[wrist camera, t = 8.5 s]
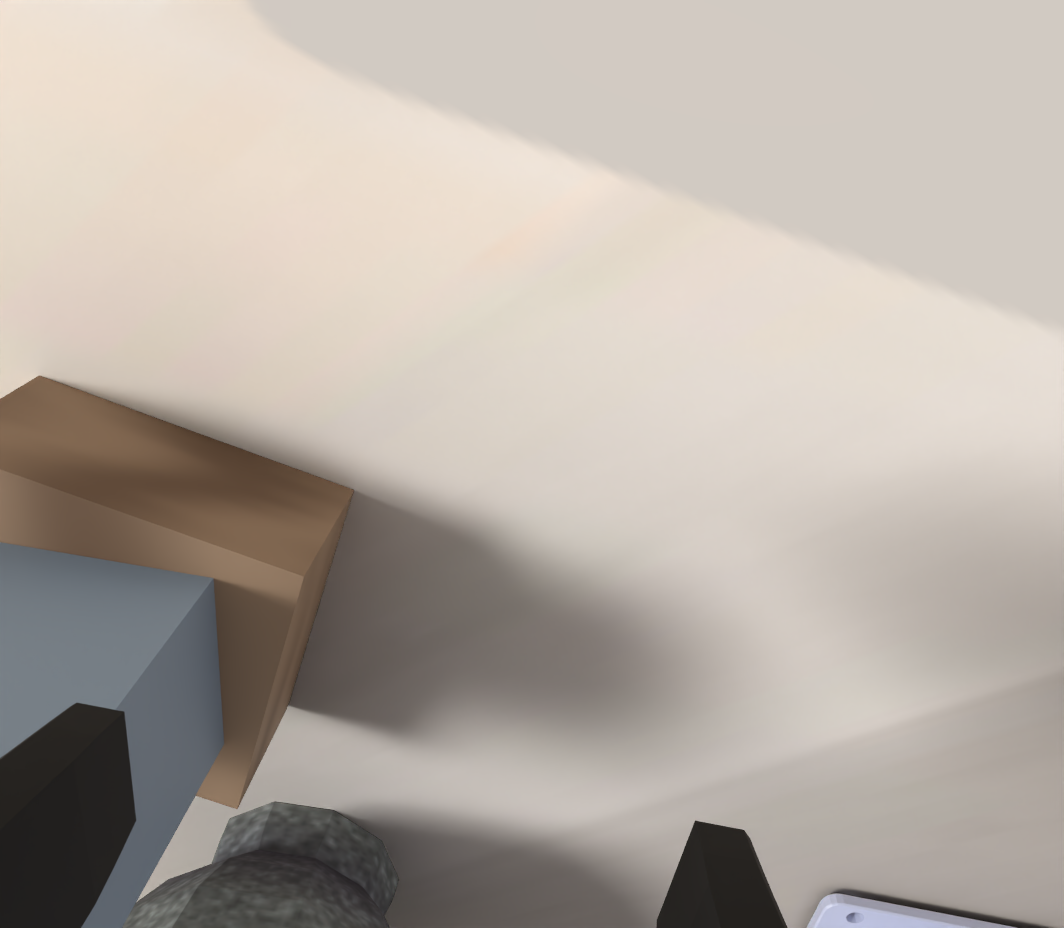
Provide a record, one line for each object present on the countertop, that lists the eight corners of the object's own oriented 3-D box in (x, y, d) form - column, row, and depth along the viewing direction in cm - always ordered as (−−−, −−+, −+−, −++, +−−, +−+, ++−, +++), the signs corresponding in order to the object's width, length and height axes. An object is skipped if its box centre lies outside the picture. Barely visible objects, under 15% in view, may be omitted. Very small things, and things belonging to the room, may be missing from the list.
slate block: (213, 578, 18) (38, 813, 12) (223, 744, 20) (80, 1001, 15) (-14, 540, 18) (-284, 756, 12) (23, 709, 20) (-190, 951, 15)
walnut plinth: (358, 483, 21) (303, 576, 17) (292, 697, 25) (237, 808, 21) (48, 370, 20) (-74, 443, 17) (29, 607, 24) (-72, 707, 20)
